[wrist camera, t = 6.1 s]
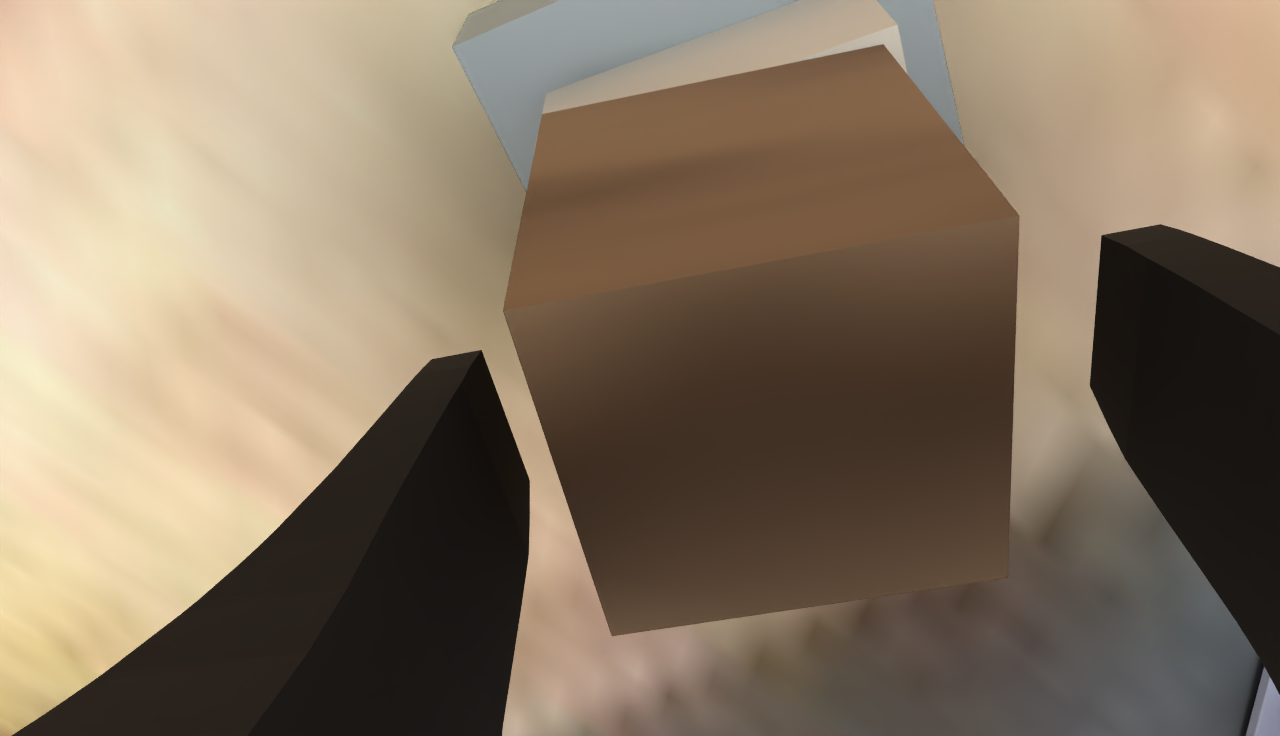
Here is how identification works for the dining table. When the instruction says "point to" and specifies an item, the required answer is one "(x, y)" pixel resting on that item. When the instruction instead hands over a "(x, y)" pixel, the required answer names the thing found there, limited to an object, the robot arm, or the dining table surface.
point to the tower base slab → (632, 51)
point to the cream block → (744, 50)
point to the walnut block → (770, 341)
